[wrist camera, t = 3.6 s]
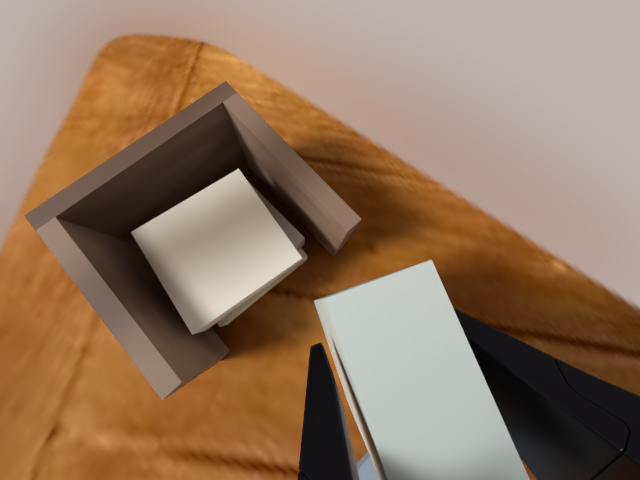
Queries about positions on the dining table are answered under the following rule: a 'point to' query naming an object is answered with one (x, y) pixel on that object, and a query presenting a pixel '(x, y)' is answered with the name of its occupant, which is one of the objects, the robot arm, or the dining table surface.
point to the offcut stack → (220, 251)
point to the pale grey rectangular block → (416, 381)
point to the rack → (158, 197)
